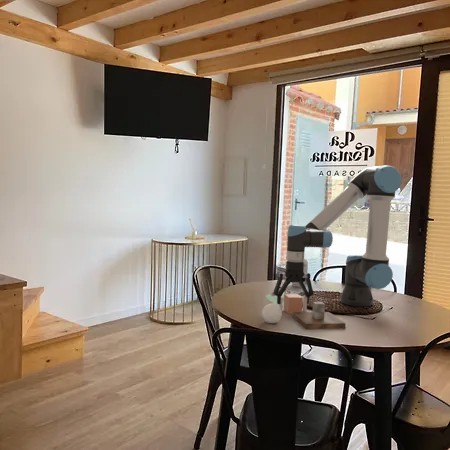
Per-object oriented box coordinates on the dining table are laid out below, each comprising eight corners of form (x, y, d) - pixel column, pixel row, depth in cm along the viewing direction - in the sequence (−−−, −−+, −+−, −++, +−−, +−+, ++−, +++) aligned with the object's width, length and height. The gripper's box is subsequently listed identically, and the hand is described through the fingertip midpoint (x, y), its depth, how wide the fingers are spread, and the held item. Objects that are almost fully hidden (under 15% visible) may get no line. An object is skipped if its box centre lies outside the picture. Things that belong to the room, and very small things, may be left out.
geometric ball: (270, 331, 174) (263, 317, 170) (263, 318, 181) (256, 304, 177) (287, 321, 174) (280, 307, 170) (280, 309, 181) (273, 296, 177)
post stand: (328, 316, 187) (329, 297, 187) (345, 328, 172) (346, 307, 171) (292, 317, 184) (293, 298, 184) (306, 329, 169) (307, 308, 168)
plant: (309, 308, 202) (310, 288, 201) (263, 305, 204) (264, 286, 203) (304, 295, 226) (305, 278, 226) (264, 293, 229) (265, 276, 228)
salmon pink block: (297, 309, 196) (297, 294, 196) (301, 313, 190) (302, 297, 190) (283, 309, 195) (284, 294, 195) (288, 313, 189) (288, 297, 189)
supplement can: (291, 286, 244) (293, 259, 243) (292, 283, 252) (293, 257, 251) (306, 288, 243) (308, 260, 242) (306, 284, 251) (307, 258, 250)
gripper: (272, 261, 185) (269, 314, 187) (323, 262, 189) (320, 313, 191) (267, 259, 193) (264, 309, 194) (316, 259, 197) (314, 308, 198)
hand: (292, 311), depth 193 cm, fingers open, 10 cm apart
